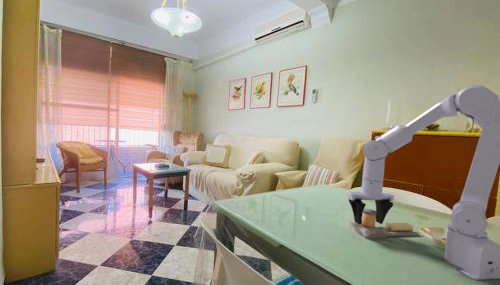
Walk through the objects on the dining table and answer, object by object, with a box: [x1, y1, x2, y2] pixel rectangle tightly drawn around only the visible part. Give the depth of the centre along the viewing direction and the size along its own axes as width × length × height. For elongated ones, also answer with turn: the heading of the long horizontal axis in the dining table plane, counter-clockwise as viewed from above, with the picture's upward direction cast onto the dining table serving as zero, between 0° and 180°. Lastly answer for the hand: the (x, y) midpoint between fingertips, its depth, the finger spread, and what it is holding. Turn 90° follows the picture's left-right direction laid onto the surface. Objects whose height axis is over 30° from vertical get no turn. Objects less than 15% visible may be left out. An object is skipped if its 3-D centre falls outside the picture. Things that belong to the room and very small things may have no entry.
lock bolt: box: [384, 222, 414, 232], centre depth 76 cm, size 2×8×2 cm, turn 101°
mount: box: [349, 219, 423, 239], centre depth 75 cm, size 8×21×3 cm, turn 101°
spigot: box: [362, 208, 376, 228], centre depth 73 cm, size 4×4×7 cm
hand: (368, 222), depth 73 cm, fingers open, 7 cm apart
